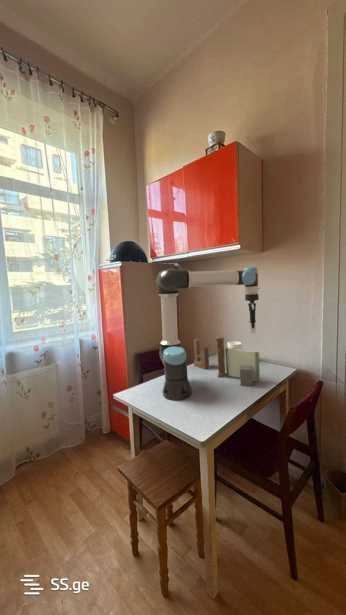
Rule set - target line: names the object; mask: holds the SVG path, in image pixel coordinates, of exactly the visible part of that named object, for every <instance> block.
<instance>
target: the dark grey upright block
mask: <svg viewBox="0 0 346 615" xmlns="http://www.w3.org/2000/svg"><path fill="white" fill-rule="evenodd" d="M239 380H240V386H242V387H245V386H247V387H253V380H252V369H251V366H240V378H239Z"/></svg>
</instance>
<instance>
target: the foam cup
mask: <svg viewBox="0 0 346 615" xmlns="http://www.w3.org/2000/svg"><path fill="white" fill-rule="evenodd" d="M242 345H243V344H242V342H240V341H235V340H233V341H228V342H227V348H229V349H237V350H242Z"/></svg>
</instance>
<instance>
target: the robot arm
mask: <svg viewBox="0 0 346 615" xmlns="http://www.w3.org/2000/svg"><path fill="white" fill-rule="evenodd" d="M155 280H156V285H157V295H158V296H159V297H160V308H161V310H160V311H161V329H162V330H161V331H162V335H161V336H162V339H161V341H160V342H159V345H160V347H159V358H160V360H161V362H162V364H163V367H164V379H165V380H164V383H163V387H162V388H163V389H162V396H163V397H164V398H165V399H168V400H172V401H182V400H184V399H188V398H189V397H191V396H192V394H193V388H192V385H191V384H190V380H189V379H188V363H187V362H188V361H187V358H188V357H187V353H186V350H185V349H184V347H182V344H181V341H180V339H179V337H178V334H179V331H178V312H177V311H178V307H177V296H178V295H179V293H180V290H185V289H186V290H188V289H190V287H192V288H193V287H216V286H218V287H219V286H221V287H222V286H244V293H245V295H244V300H245V301H247V302H248V301H249V303H248V305H247V306H248V311H249V324H250V325H249V326H250V334H256V332H257V331H256V322H257V320H256V307H257V303H255V301H259V296H260V295H259V290H260V287H259V271H258V267H257V266H251V267H248V266H247V267H244V268H243V270H206V271H205V270H204V271H203V270H202V271H200V270H199V271H190V270H189V269H179V268H166V269H163V270H161V271H160V272H159V273H158V275H156V279H155Z"/></svg>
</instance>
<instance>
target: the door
mask: <svg viewBox="0 0 346 615" xmlns="http://www.w3.org/2000/svg"><path fill="white" fill-rule="evenodd" d="M224 352H225V373H226V374H227V375H226V376H228V377H234V378H238V379H240V366H251V369H252V381H253V382H254V381H256V382H261V381H260V380H261V375H260V374H261V373H260V352H259V351H253V350H243V349H241V350H237V349H229V348H228V347H227V348H226V347H225V348H224Z"/></svg>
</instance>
